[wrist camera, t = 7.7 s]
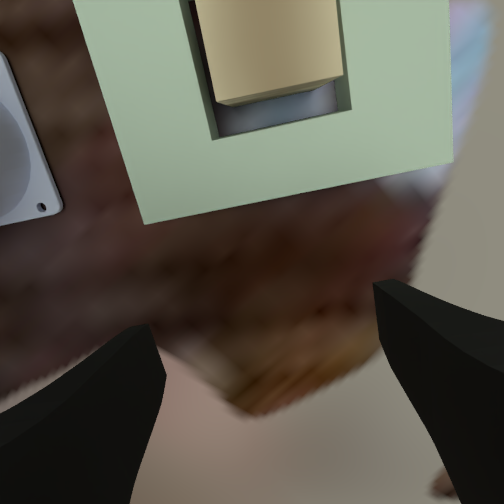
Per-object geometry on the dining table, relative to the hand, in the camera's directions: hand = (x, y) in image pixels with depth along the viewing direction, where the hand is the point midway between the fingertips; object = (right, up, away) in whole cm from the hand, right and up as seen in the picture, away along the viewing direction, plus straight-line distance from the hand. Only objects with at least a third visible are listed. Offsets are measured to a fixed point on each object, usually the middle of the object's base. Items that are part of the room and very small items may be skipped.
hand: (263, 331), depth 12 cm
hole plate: (0, +12, +6) cm, 13 cm away
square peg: (0, +12, +6) cm, 13 cm away
